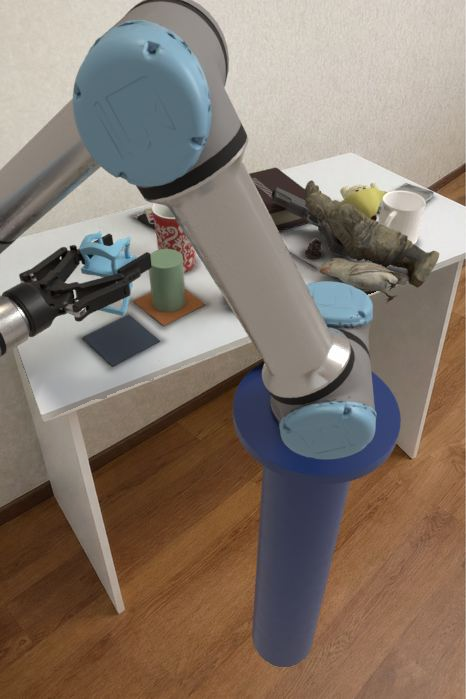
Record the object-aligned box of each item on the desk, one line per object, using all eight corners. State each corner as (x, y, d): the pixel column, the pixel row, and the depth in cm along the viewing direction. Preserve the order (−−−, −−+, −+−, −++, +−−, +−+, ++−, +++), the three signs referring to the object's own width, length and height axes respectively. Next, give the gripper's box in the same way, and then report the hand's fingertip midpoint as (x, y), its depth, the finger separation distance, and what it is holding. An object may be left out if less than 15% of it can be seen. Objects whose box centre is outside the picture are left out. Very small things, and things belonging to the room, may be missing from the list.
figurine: (315, 268, 123) (317, 251, 120) (288, 252, 127) (289, 236, 125) (333, 259, 126) (335, 242, 123) (305, 243, 130) (307, 227, 127)
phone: (434, 196, 147) (435, 192, 146) (403, 221, 138) (404, 216, 137) (404, 187, 151) (405, 182, 150) (372, 210, 142) (373, 205, 141)
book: (271, 186, 150) (273, 164, 146) (314, 221, 137) (316, 198, 133) (170, 211, 140) (168, 188, 137) (205, 251, 128) (205, 227, 124)
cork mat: (205, 304, 114) (205, 303, 114) (163, 326, 109) (163, 325, 109) (174, 282, 119) (174, 280, 119) (133, 301, 114) (133, 300, 114)
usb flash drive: (155, 226, 134) (155, 230, 134) (172, 217, 136) (172, 221, 137) (131, 213, 138) (132, 217, 139) (148, 205, 141) (149, 209, 142)
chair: (145, 288, 102) (138, 226, 94) (123, 316, 96) (114, 253, 88) (105, 279, 103) (95, 218, 95) (81, 306, 98) (68, 244, 90)
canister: (192, 303, 114) (189, 259, 107) (165, 316, 111) (161, 272, 104) (172, 288, 117) (168, 244, 111) (145, 301, 114) (140, 257, 107)
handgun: (267, 224, 122) (269, 195, 130) (347, 260, 126) (344, 230, 135) (273, 213, 120) (275, 184, 129) (354, 250, 124) (351, 220, 133)
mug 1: (206, 270, 122) (204, 212, 113) (164, 280, 120) (159, 221, 111) (185, 240, 131) (182, 184, 122) (146, 249, 128) (139, 192, 119)
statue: (406, 298, 124) (283, 227, 125) (428, 260, 125) (305, 190, 126) (423, 289, 113) (288, 212, 114) (447, 248, 114) (312, 171, 115)
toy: (376, 172, 142) (401, 188, 129) (379, 200, 145) (404, 217, 132) (323, 188, 142) (342, 205, 129) (327, 215, 145) (347, 234, 132)
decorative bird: (316, 283, 120) (334, 267, 125) (390, 308, 112) (406, 291, 117) (318, 259, 117) (336, 244, 121) (394, 284, 109) (411, 267, 114)
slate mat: (160, 341, 106) (160, 340, 106) (112, 366, 101) (112, 365, 101) (128, 315, 111) (128, 314, 111) (82, 338, 106) (82, 336, 106)
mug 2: (393, 223, 137) (401, 186, 131) (425, 240, 132) (434, 202, 125) (358, 240, 131) (364, 202, 125) (390, 258, 126) (398, 219, 120)
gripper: (-21, 308, 92) (90, 247, 105) (67, 367, 82) (178, 292, 95) (-35, 268, 87) (84, 209, 100) (57, 326, 77) (175, 253, 90)
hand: (129, 250), depth 98 cm, fingers closed on chair, 8 cm apart
